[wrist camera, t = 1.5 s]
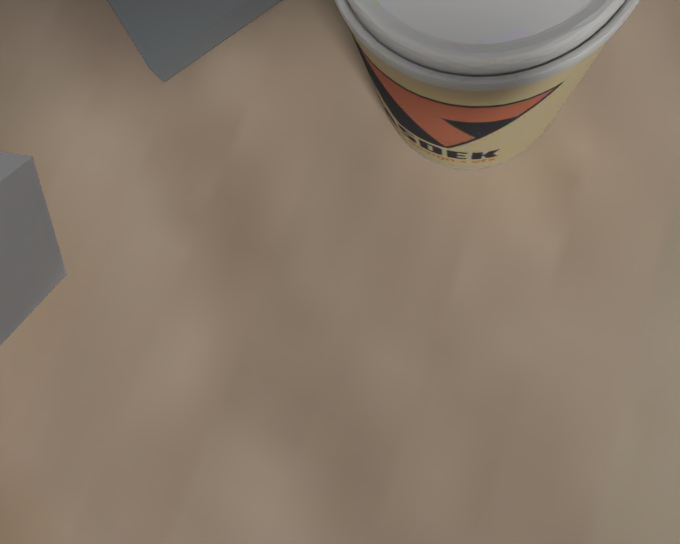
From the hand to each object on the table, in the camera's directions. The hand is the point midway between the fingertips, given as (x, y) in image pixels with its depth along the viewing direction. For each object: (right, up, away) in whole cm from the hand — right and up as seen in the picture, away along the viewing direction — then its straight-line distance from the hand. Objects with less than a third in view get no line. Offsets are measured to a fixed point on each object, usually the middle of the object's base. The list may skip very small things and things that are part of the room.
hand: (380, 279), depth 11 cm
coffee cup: (+5, +8, +18) cm, 20 cm away
